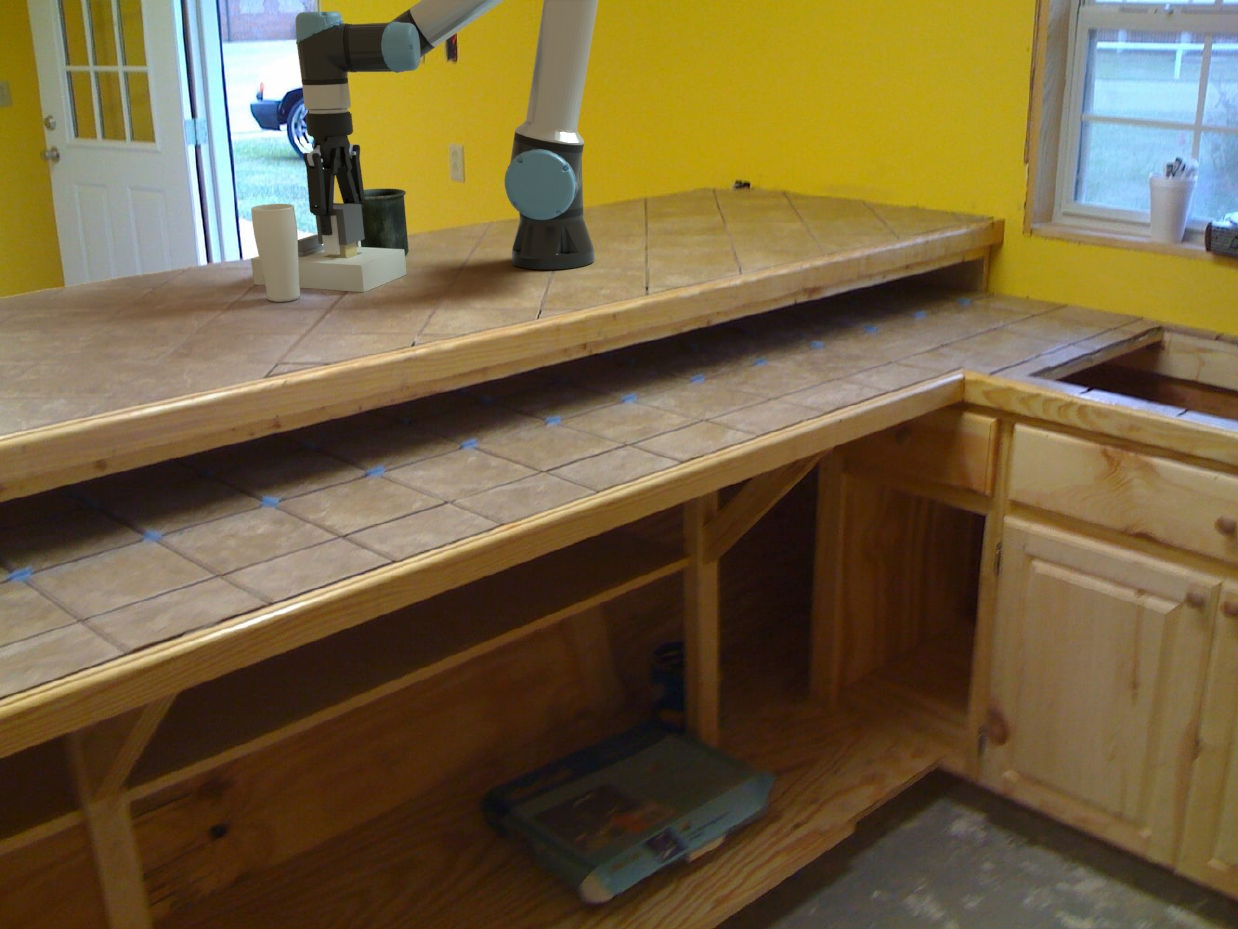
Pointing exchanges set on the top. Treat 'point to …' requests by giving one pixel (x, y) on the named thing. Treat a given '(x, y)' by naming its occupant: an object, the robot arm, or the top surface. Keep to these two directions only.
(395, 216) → the mug
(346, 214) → the plug
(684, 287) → the top surface
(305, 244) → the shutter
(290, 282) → the drinking glass
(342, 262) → the socket
